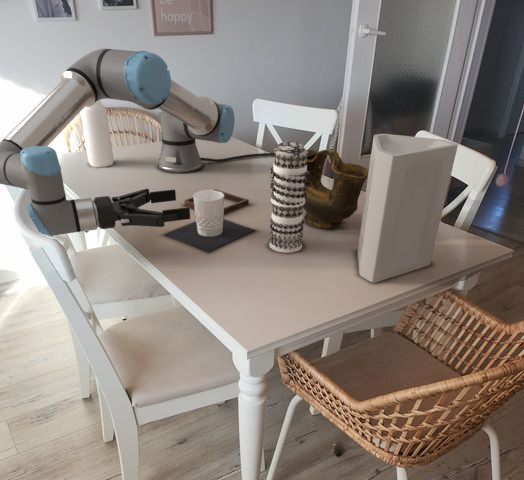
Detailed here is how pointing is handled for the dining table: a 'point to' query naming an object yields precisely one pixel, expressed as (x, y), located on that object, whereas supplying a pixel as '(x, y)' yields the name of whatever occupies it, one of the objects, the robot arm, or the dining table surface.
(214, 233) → the white cup
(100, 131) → the alcohol
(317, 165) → the pottery vessel
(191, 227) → the mat
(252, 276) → the dining table surface
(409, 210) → the white triangular vase
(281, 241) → the decorative candle
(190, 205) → the wooden frame
